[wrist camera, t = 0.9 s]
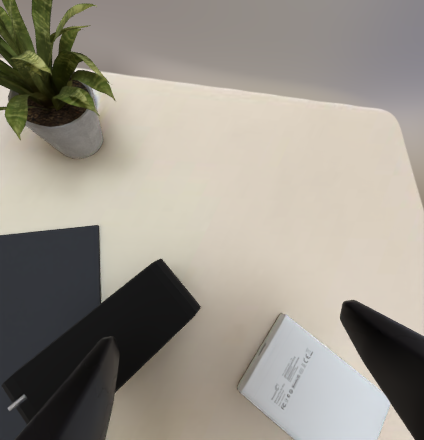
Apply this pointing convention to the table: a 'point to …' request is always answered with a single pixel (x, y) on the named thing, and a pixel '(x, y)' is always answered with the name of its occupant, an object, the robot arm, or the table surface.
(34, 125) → the house plant
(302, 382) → the hard drive
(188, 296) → the electronic device
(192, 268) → the table surface
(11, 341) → the mat
